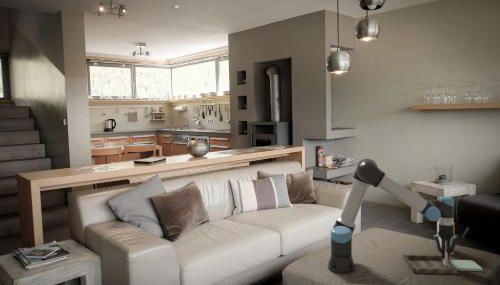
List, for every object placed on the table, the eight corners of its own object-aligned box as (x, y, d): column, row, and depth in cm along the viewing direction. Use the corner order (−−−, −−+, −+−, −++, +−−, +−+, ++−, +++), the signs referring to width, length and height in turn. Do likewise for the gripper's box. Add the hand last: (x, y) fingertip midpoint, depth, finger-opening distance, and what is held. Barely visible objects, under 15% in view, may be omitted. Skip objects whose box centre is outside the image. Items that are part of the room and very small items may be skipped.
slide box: (413, 273, 215) (413, 268, 215) (403, 259, 235) (403, 254, 235) (457, 274, 212) (457, 269, 212) (443, 260, 232) (443, 255, 232)
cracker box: (454, 255, 239) (455, 222, 237) (444, 255, 240) (444, 222, 238) (446, 247, 253) (446, 216, 251) (436, 247, 254) (436, 215, 252)
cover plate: (459, 272, 216) (459, 268, 216) (450, 264, 228) (450, 259, 228) (482, 273, 215) (482, 268, 214) (472, 264, 227) (472, 260, 226)
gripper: (436, 225, 218) (435, 266, 220) (461, 226, 216) (459, 267, 218) (431, 221, 225) (431, 261, 227) (455, 222, 223) (454, 261, 226)
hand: (445, 264), depth 223 cm, fingers closed
